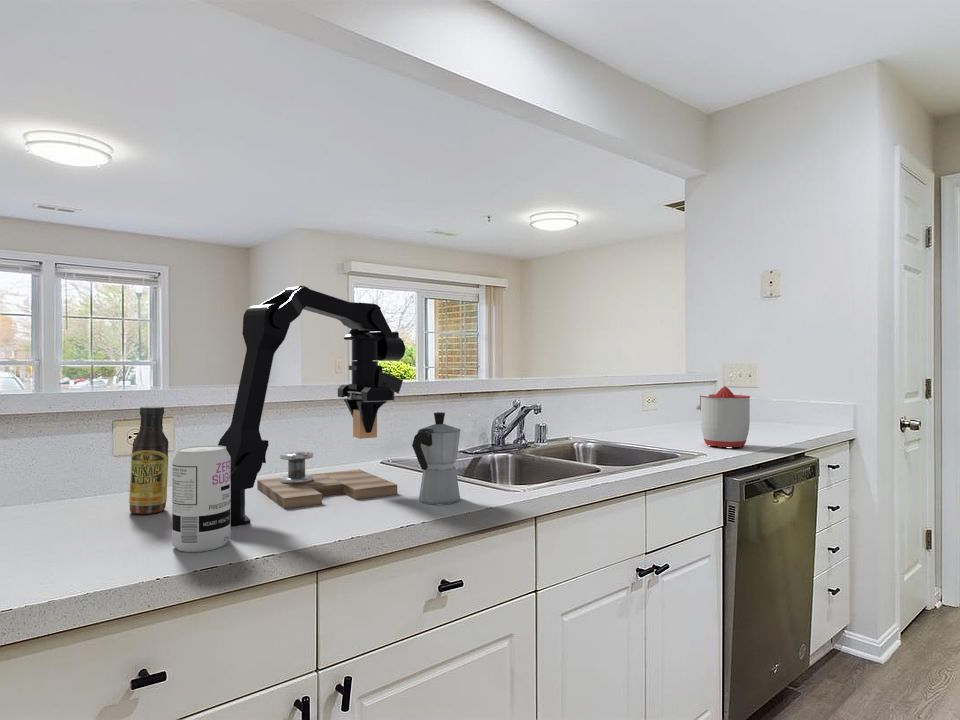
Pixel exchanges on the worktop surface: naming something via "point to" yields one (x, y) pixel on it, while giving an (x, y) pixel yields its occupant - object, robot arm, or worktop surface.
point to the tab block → (362, 427)
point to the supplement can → (201, 498)
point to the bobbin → (296, 467)
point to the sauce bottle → (149, 464)
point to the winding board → (326, 488)
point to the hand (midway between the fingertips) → (364, 431)
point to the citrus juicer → (725, 418)
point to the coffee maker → (438, 461)
